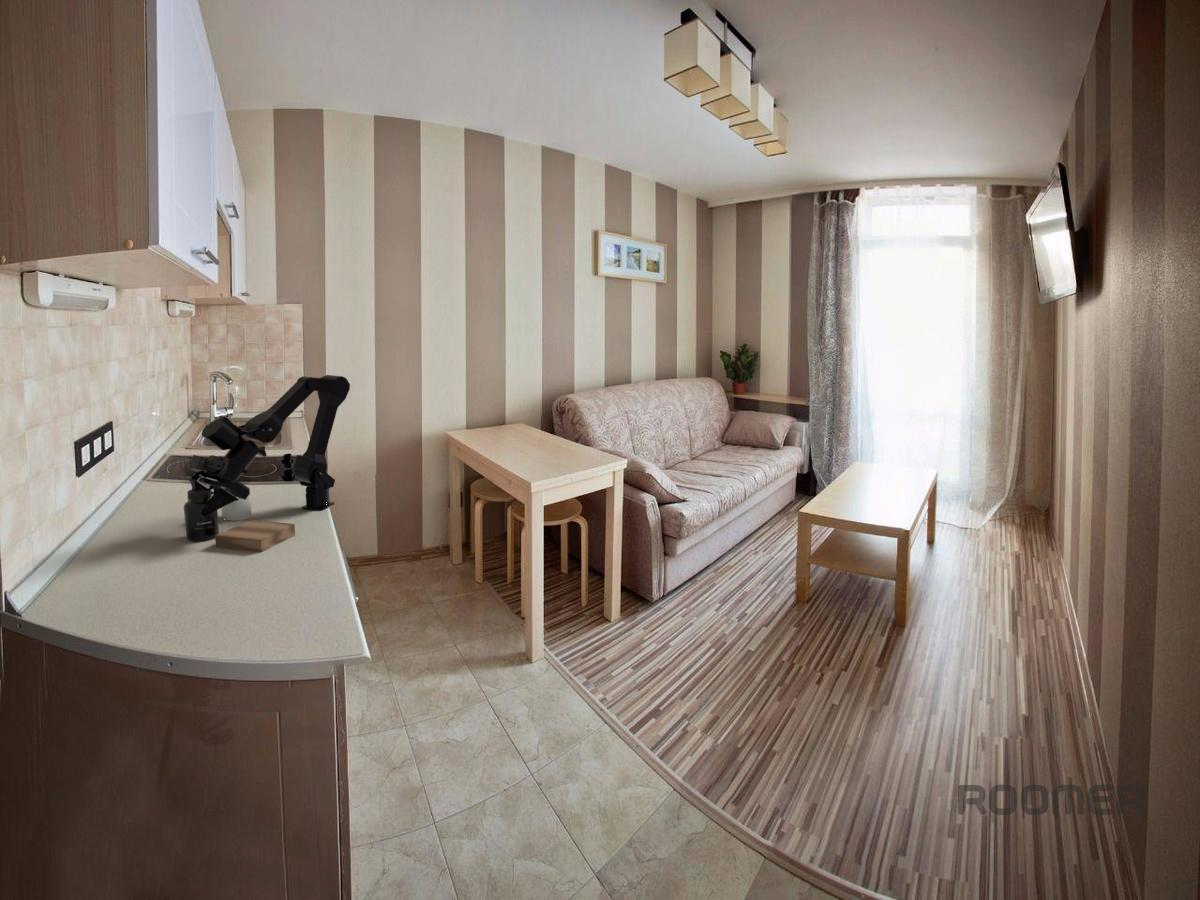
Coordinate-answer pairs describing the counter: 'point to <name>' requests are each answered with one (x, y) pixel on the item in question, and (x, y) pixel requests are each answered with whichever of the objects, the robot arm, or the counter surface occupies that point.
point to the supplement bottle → (199, 516)
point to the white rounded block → (237, 509)
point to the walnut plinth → (255, 535)
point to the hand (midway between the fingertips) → (194, 512)
